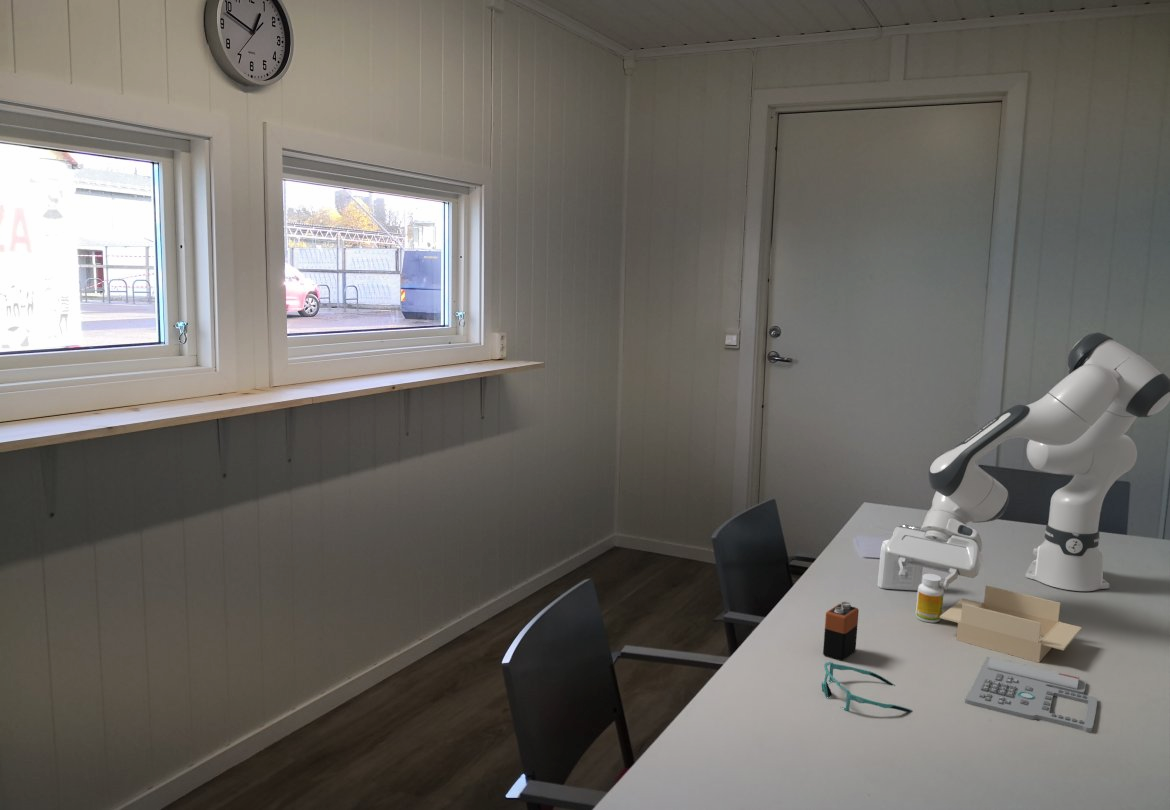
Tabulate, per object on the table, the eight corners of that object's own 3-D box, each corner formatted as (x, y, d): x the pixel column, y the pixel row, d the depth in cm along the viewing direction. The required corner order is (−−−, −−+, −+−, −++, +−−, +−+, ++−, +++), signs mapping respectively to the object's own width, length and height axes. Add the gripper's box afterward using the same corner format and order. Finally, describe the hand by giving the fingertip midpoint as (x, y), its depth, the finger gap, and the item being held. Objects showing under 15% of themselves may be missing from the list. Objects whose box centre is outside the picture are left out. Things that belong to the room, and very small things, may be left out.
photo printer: (917, 586, 224) (922, 537, 222) (923, 592, 220) (927, 542, 218) (875, 584, 225) (879, 535, 223) (879, 589, 221) (883, 540, 219)
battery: (856, 651, 184) (860, 603, 182) (842, 661, 178) (846, 613, 177) (835, 645, 186) (839, 598, 185) (821, 655, 181) (825, 607, 180)
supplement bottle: (943, 624, 200) (947, 583, 198) (917, 622, 200) (922, 581, 198) (938, 613, 205) (942, 573, 203) (913, 611, 206) (917, 571, 204)
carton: (962, 614, 206) (965, 580, 204) (1080, 644, 190) (1084, 608, 189) (937, 634, 194) (940, 598, 192) (1061, 668, 178) (1065, 629, 177)
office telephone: (986, 650, 182) (1101, 675, 171) (985, 662, 182) (1099, 688, 172) (965, 692, 162) (1093, 723, 152) (964, 706, 162) (1091, 738, 152)
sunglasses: (811, 678, 171) (815, 653, 170) (890, 689, 171) (895, 664, 170) (829, 714, 157) (834, 687, 156) (915, 726, 157) (920, 699, 156)
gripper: (894, 515, 213) (873, 564, 206) (985, 532, 199) (966, 585, 193) (900, 531, 216) (880, 579, 210) (990, 549, 203) (971, 601, 197)
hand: (921, 582), depth 201 cm, fingers open, 8 cm apart
